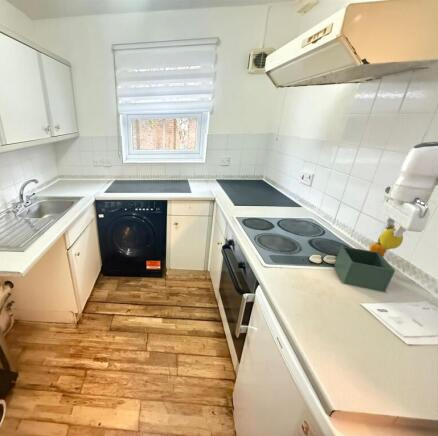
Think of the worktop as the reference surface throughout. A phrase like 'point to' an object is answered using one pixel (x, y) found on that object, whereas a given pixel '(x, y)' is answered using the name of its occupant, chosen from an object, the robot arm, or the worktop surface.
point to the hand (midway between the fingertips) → (392, 232)
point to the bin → (363, 268)
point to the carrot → (378, 247)
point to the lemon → (390, 239)
